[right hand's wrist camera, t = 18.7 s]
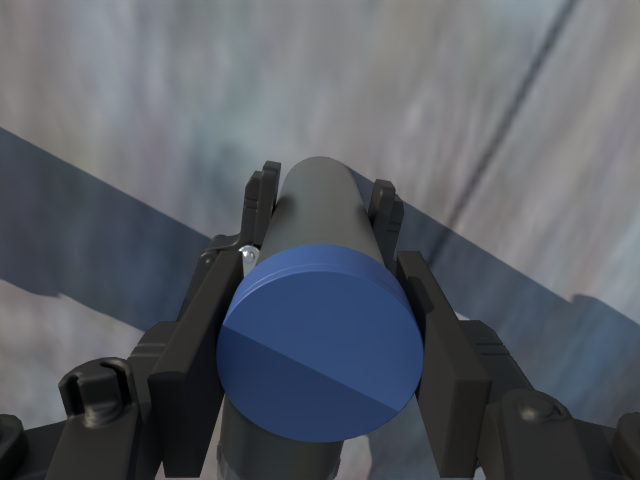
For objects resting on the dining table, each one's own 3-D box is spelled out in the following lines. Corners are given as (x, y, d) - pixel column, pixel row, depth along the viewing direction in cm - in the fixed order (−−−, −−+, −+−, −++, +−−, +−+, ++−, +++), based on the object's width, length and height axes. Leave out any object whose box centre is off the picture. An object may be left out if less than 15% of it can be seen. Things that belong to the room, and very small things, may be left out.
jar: (274, 163, 26) (211, 284, 11) (351, 149, 25) (397, 254, 10) (290, 235, 27) (255, 425, 12) (362, 223, 27) (415, 402, 12)
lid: (272, 418, 14) (266, 463, 12) (196, 280, 12) (177, 312, 10) (432, 369, 13) (448, 411, 11) (377, 214, 11) (387, 238, 9)
